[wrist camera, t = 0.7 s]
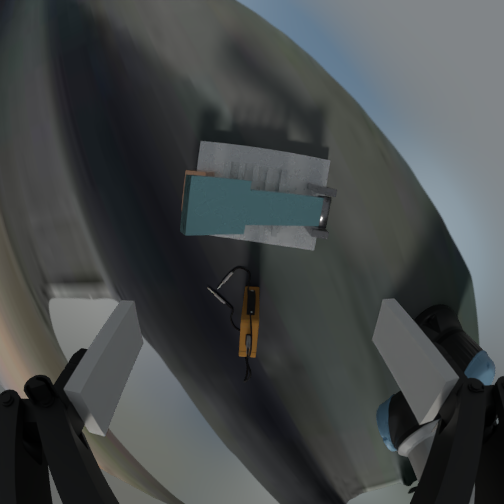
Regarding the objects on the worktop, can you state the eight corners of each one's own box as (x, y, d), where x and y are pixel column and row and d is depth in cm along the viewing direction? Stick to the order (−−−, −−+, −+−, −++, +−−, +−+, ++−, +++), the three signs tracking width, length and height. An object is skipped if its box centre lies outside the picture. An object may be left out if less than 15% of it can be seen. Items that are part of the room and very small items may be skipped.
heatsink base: (327, 160, 47) (347, 158, 35) (311, 247, 52) (326, 270, 40) (203, 142, 47) (185, 134, 35) (192, 229, 51) (173, 247, 40)
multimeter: (207, 263, 53) (180, 316, 34) (261, 267, 53) (261, 323, 34) (207, 330, 57) (187, 397, 38) (255, 334, 57) (253, 404, 38)
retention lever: (325, 190, 40) (335, 192, 38) (317, 230, 41) (327, 233, 40) (185, 174, 28) (192, 175, 26) (179, 230, 30) (186, 235, 28)
